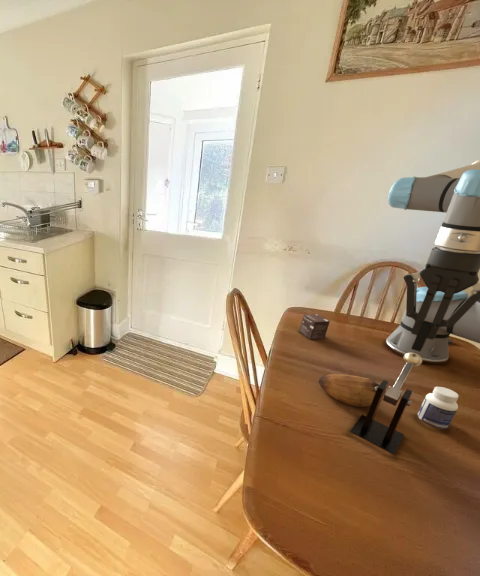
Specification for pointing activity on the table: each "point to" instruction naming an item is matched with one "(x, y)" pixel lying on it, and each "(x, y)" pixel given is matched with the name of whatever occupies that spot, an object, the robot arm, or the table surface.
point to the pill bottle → (439, 407)
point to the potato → (349, 388)
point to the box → (314, 326)
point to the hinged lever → (402, 378)
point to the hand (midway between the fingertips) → (417, 348)
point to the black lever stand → (379, 432)
